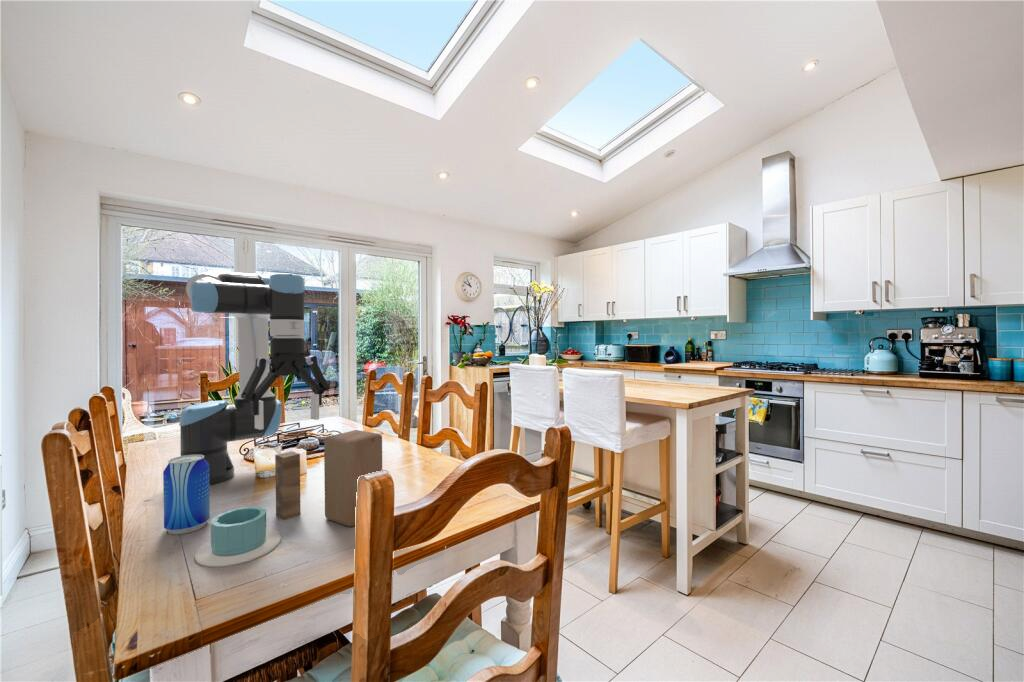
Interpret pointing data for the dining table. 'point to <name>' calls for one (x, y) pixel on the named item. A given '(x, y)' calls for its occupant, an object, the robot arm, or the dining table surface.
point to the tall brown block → (287, 484)
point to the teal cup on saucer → (237, 538)
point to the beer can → (186, 494)
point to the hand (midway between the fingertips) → (288, 423)
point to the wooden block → (348, 471)
